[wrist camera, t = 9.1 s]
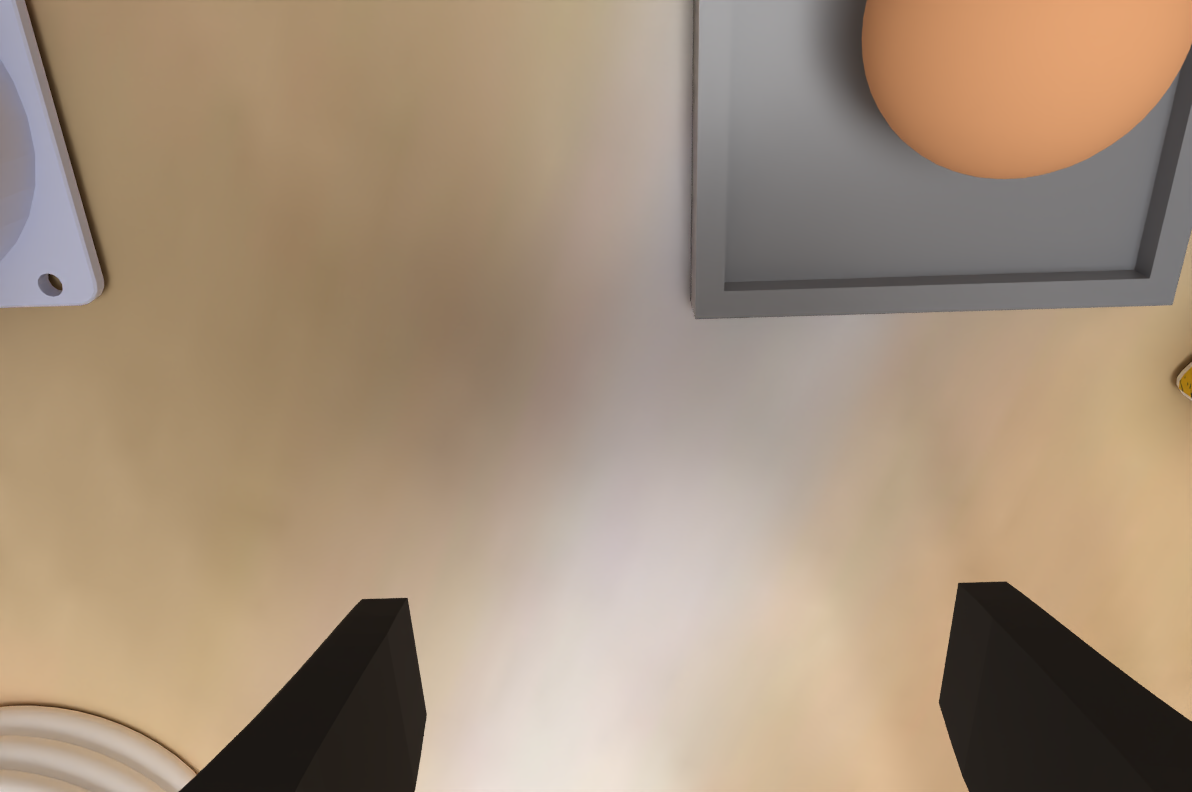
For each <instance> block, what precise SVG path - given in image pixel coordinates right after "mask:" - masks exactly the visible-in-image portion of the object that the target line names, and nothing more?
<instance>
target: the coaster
mask: <svg viewBox="0 0 1192 792" xmlns="http://www.w3.org/2000/svg"><path fill="white" fill-rule="evenodd" d="M195 776H196V773H195V772H194V771H193V770H192V769H191V768H190V767H189V766H187V765H186V764H185V763H184V762H183V761H181V760H180V759H179V758H178V757H177V756H176V755H174V754H173V753H171V752H170V751H168V750H167V749H165V748H164V747H163V746H161V745H160V744H158V743H156V742H155V741H153V740H151V739H149V738H148V737H146V736H144V735H142V734H141V733H138V732H136V731H134V730H132V729H130V728H128V727H126V726H123V725H121V724H118V723H116V722H113V721H110V720H107V719H105V718H102V717H98V716H95V715H91V714H87V713H83V712H80V711H74V710H68V709H63V708H56V707H44V706H6V707H0V792H179V791H180V790H181V789H182V788H183V787H184V786H185V785H186V784H187V783H188V782H190V781H191V780H192V779H193V778H194V777H195Z"/></svg>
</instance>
